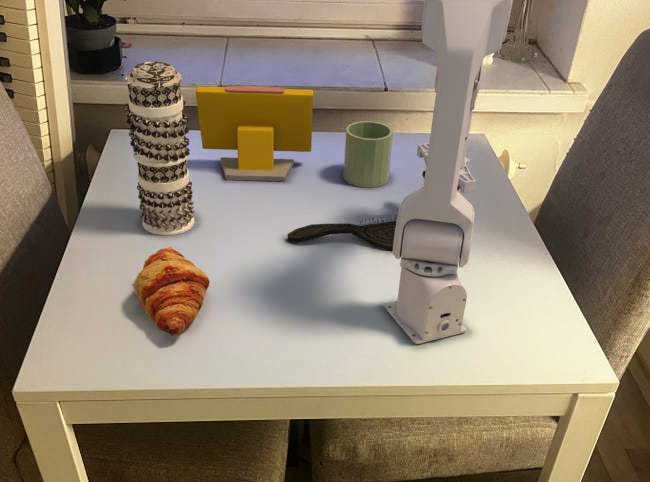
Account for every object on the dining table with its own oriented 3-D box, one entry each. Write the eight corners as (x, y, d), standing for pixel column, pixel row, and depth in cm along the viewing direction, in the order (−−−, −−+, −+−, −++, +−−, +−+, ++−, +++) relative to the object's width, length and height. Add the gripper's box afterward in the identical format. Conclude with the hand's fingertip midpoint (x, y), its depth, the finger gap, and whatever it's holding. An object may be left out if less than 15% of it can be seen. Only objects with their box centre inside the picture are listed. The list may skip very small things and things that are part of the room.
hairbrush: (285, 211, 123) (438, 202, 125) (286, 231, 126) (436, 222, 127) (288, 238, 117) (449, 228, 118) (289, 258, 119) (447, 249, 121)
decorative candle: (135, 212, 127) (115, 58, 111) (191, 206, 130) (178, 54, 114) (143, 239, 120) (123, 80, 105) (201, 232, 123) (190, 75, 107)
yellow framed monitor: (310, 163, 144) (313, 79, 134) (310, 182, 138) (313, 95, 128) (204, 160, 144) (198, 75, 134) (199, 179, 137) (193, 92, 127)
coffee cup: (395, 183, 139) (401, 136, 133) (355, 190, 136) (358, 142, 130) (375, 165, 145) (379, 118, 139) (336, 171, 142) (338, 124, 136)
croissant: (152, 281, 117) (121, 243, 112) (208, 250, 116) (179, 209, 111) (158, 366, 101) (122, 325, 96) (224, 330, 100) (191, 287, 95)
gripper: (498, 149, 114) (482, 230, 122) (448, 114, 124) (437, 190, 133) (457, 156, 111) (444, 238, 120) (409, 119, 122) (401, 197, 130)
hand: (438, 213), depth 126 cm, fingers closed
